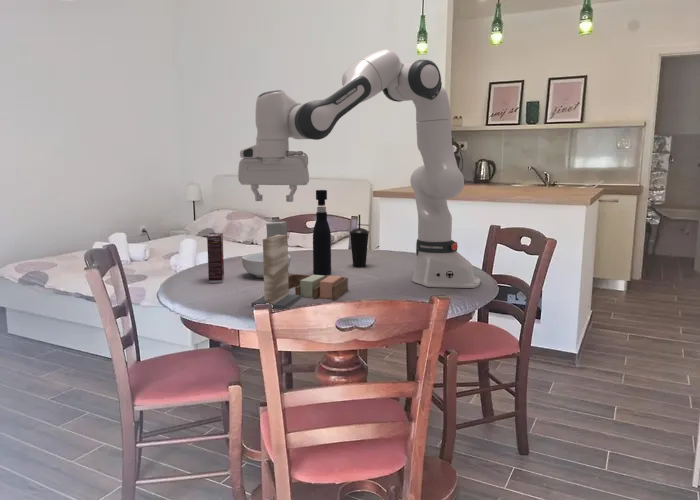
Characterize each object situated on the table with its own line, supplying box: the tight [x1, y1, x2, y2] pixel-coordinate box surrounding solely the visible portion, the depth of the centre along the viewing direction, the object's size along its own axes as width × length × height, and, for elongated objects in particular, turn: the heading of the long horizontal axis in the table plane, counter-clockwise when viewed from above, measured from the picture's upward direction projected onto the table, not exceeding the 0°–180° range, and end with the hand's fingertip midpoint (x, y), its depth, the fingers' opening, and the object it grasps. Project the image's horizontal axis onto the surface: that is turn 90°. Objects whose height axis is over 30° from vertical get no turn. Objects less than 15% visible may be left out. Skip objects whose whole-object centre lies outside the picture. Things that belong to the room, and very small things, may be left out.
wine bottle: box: [312, 189, 332, 276], centre depth 192 cm, size 6×6×30 cm
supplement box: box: [206, 232, 225, 284], centre depth 183 cm, size 9×5×16 cm, turn 9°
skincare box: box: [265, 221, 288, 238], centre depth 218 cm, size 8×7×16 cm
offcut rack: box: [288, 273, 349, 301], centre depth 167 cm, size 19×13×4 cm
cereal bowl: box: [241, 251, 292, 279], centre depth 191 cm, size 17×17×7 cm
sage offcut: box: [300, 274, 325, 298], centre depth 166 cm, size 4×9×5 cm, turn 157°
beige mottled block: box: [262, 234, 290, 304], centre depth 155 cm, size 3×10×18 cm, turn 163°
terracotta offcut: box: [319, 275, 343, 299], centre depth 165 cm, size 4×9×5 cm, turn 163°
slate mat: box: [251, 293, 302, 310], centre depth 156 cm, size 10×12×1 cm
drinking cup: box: [348, 214, 370, 268], centre depth 206 cm, size 8×8×20 cm
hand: (274, 201), depth 151 cm, fingers open, 8 cm apart
